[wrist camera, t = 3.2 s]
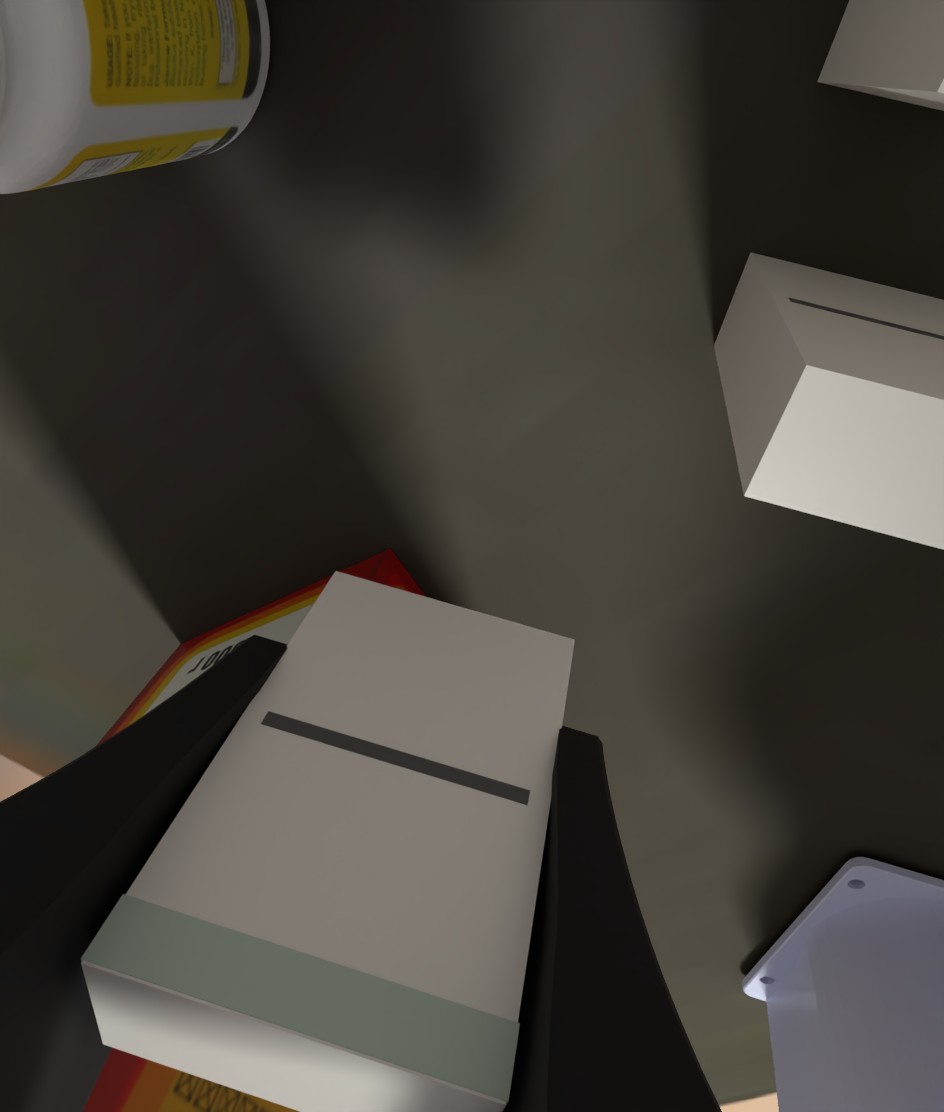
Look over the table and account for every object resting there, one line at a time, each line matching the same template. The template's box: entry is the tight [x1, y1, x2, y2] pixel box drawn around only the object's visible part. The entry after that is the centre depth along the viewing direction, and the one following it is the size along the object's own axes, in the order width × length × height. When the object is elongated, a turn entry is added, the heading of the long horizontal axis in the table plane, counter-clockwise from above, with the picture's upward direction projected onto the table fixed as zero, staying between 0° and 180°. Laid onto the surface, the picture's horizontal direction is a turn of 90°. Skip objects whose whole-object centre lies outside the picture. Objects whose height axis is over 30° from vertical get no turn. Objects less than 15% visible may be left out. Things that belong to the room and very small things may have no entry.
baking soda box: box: [83, 549, 426, 1112], centre depth 18 cm, size 10×6×16 cm
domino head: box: [81, 571, 575, 1112], centre depth 11 cm, size 2×4×7 cm, turn 80°
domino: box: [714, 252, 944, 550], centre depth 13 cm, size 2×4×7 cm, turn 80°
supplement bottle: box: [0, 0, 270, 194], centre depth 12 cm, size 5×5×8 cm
